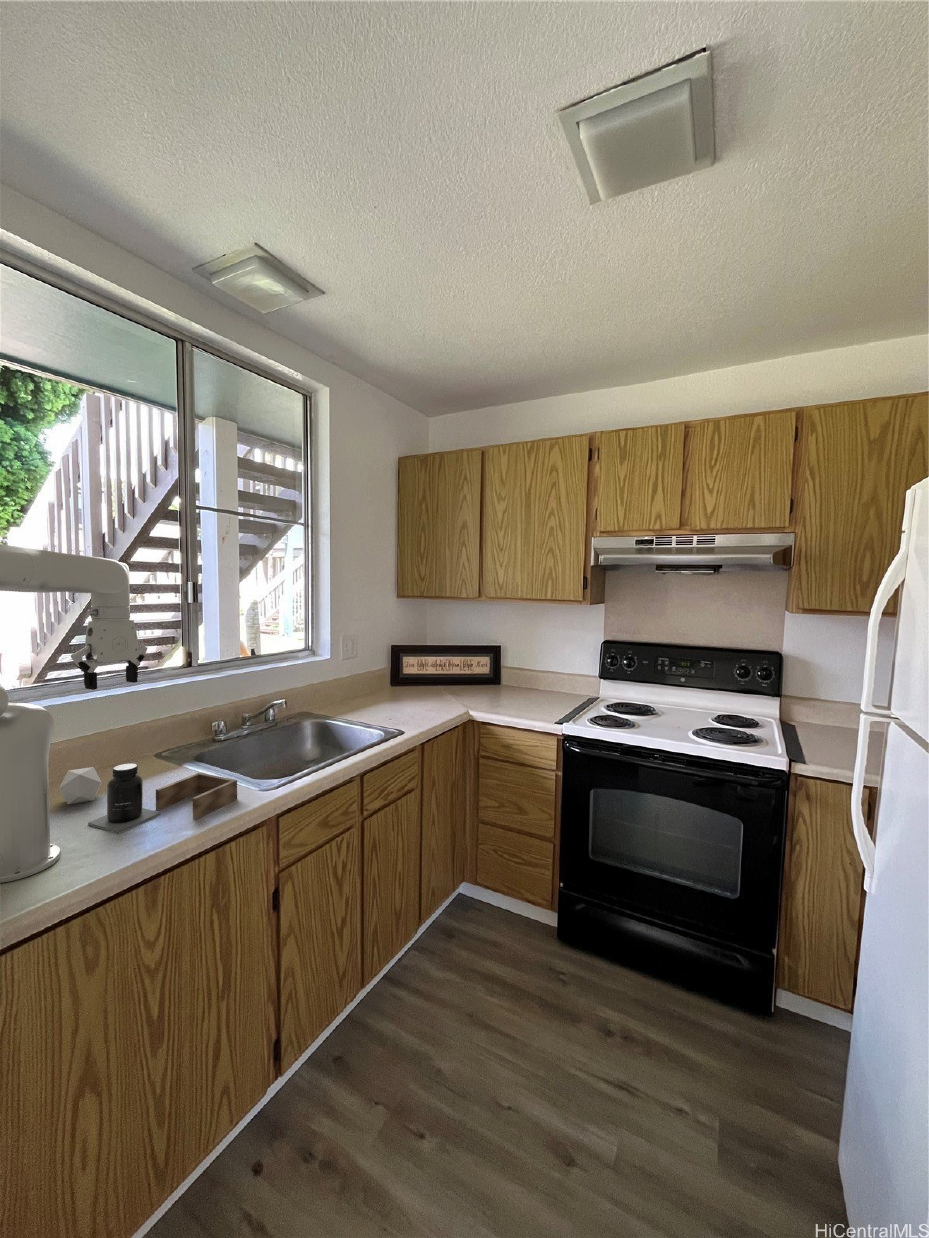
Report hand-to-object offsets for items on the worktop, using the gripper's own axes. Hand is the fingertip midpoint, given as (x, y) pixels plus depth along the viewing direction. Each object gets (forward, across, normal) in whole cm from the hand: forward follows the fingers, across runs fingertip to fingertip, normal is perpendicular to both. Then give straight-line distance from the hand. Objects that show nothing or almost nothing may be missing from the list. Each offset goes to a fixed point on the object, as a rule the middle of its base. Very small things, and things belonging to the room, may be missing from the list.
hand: (112, 685), depth 121 cm
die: (+31, 0, +12) cm, 33 cm away
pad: (+30, -3, -8) cm, 31 cm away
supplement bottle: (+30, -3, -8) cm, 31 cm away
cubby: (+30, +10, -16) cm, 36 cm away
